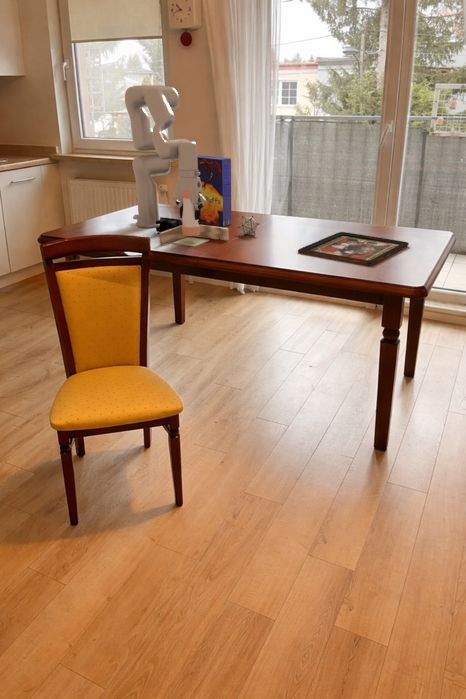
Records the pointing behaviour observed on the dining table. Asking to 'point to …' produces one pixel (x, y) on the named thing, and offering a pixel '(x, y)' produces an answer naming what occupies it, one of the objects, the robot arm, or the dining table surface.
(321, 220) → the dining table surface
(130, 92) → the robot arm
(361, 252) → the framed icon painting
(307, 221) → the dining table surface
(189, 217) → the pepper shaker
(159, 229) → the end cap
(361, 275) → the dining table surface
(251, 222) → the grey spiky star ornament
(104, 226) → the dining table surface
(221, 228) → the corner walls
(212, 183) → the cereal box
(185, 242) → the pad
